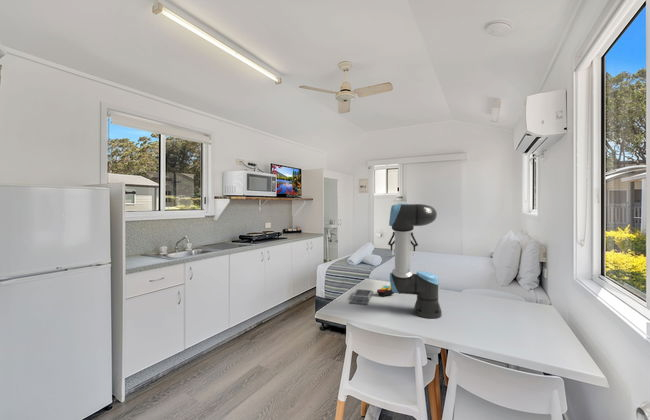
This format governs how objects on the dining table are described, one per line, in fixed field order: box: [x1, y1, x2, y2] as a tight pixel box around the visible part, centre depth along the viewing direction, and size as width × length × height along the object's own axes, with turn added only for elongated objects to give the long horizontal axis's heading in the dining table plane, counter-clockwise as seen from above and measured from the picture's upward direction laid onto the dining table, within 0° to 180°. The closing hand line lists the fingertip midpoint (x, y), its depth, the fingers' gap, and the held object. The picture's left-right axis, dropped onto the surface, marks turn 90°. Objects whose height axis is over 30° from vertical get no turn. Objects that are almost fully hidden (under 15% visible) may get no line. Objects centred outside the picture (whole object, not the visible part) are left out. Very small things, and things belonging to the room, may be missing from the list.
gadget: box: [376, 285, 395, 297], centre depth 195 cm, size 6×13×6 cm, turn 114°
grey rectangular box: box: [349, 288, 374, 306], centre depth 190 cm, size 28×11×3 cm, turn 162°
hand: (402, 255), depth 201 cm, fingers open, 13 cm apart
